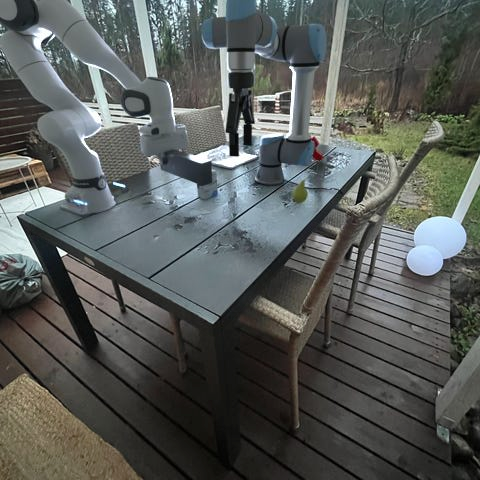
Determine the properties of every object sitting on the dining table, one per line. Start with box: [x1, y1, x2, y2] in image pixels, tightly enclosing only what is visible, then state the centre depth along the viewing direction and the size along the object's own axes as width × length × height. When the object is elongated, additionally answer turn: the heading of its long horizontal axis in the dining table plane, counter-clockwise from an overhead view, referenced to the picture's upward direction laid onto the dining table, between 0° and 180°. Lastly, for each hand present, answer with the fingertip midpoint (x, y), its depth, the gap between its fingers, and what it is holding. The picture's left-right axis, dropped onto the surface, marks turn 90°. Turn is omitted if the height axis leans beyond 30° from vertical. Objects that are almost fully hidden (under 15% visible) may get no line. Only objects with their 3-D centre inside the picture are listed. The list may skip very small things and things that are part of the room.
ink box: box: [196, 169, 219, 200], centre depth 125 cm, size 8×5×12 cm, turn 135°
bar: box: [159, 150, 213, 186], centre depth 104 cm, size 26×5×8 cm, turn 48°
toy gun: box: [311, 135, 324, 163], centre depth 171 cm, size 18×4×15 cm
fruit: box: [291, 174, 311, 204], centre depth 118 cm, size 7×8×12 cm
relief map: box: [194, 144, 258, 170], centre depth 177 cm, size 27×35×5 cm
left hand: (168, 162), depth 111 cm, fingers closed on bar, 4 cm apart
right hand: (241, 150), depth 86 cm, fingers open, 13 cm apart
